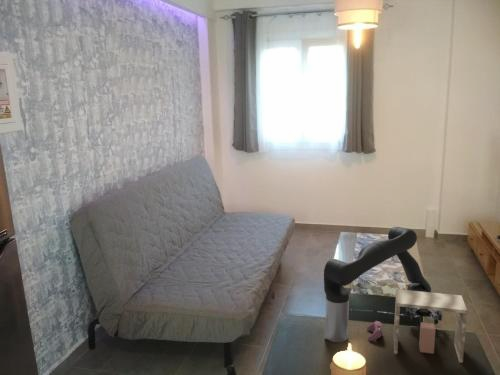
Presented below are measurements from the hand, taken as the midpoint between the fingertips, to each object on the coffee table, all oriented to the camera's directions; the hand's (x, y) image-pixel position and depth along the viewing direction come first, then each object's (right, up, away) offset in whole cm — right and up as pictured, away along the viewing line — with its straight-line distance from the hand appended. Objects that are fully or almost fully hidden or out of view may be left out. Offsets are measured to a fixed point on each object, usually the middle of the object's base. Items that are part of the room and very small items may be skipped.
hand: (424, 321), depth 187 cm
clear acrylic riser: (-3, -8, -9) cm, 13 cm away
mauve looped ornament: (-20, -7, +2) cm, 22 cm away
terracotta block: (-3, -9, -9) cm, 13 cm away
